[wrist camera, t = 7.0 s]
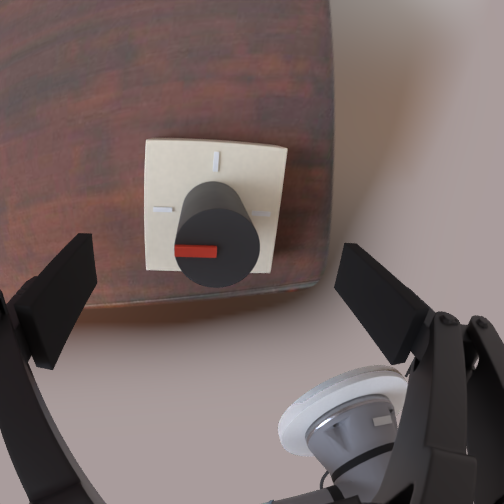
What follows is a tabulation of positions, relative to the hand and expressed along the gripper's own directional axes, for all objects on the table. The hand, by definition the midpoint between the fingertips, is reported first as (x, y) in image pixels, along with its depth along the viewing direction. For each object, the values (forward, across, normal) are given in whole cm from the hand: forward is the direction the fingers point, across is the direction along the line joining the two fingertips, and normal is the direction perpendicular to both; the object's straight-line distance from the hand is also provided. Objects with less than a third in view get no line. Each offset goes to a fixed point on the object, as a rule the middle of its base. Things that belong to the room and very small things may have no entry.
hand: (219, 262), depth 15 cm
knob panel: (+11, 0, +1) cm, 11 cm away
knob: (+8, 0, +1) cm, 8 cm away
